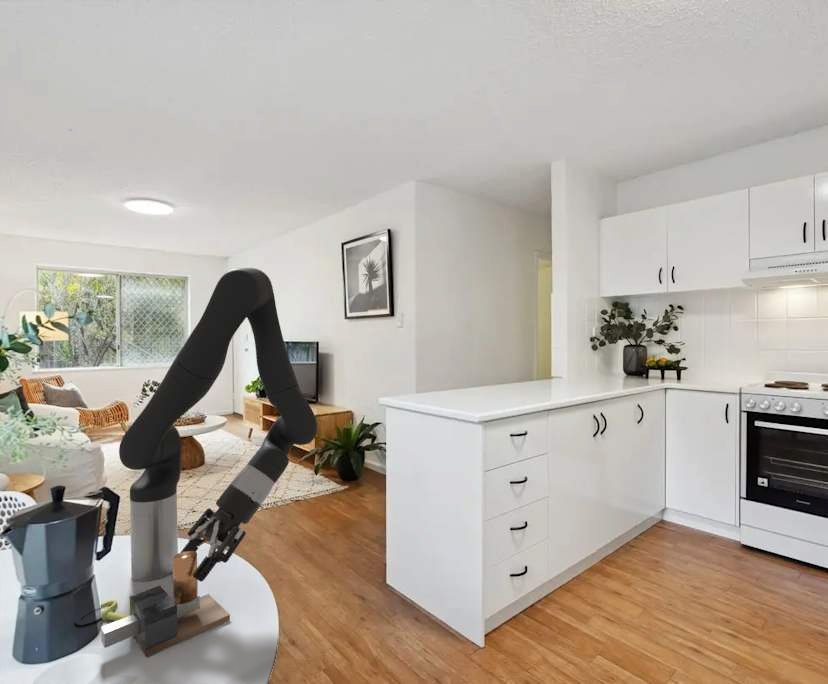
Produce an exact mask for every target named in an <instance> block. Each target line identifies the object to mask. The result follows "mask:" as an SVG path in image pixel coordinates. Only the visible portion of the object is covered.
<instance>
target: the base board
mask: <svg viewBox="0 0 828 684" xmlns="http://www.w3.org/2000/svg"><path fill="white" fill-rule="evenodd" d="M230 620H231V614H230V613H229V612H228V611H227V610H226V609H225V608H224V607H223V606H222V605H221V604H219V603H218V602H217V601H216V599H214V597H212V595H210V594H209V593H207V594H204V595H202V596H200V609H198V610H195V611H193V612H190V613H188V614H186V615H183V616H181V617H178V618H177V637H175V638H172V639H170V640H168V641H166V642H163V643H161V644H159V645H157V646H154V647H152V648H150V649H147V650H145V649H144V647H143V646H142V644H141V643H140V641H139V640H138V638H137V636H136V635H135V636H133V639H134V641H135V642H136V643H137V645H138V647H139V648H140V649H141V651H142V653H143V655H144V656H145V658H146V659H147V658H149V657H151V656H154V655H156V654H158V653H160V652H162V651H164V650H167V649H169V648H171V647H173V646H175V645H178V644H180V643H182V642H184V641H186V640H189V639H191V638H193V637H195V636H198V635H199V634H202V633H204V632H206V631H208V630H210V629H213V628H215V627H217V626H220V625H222V624H224V623H227V622H229V621H230Z"/></svg>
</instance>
